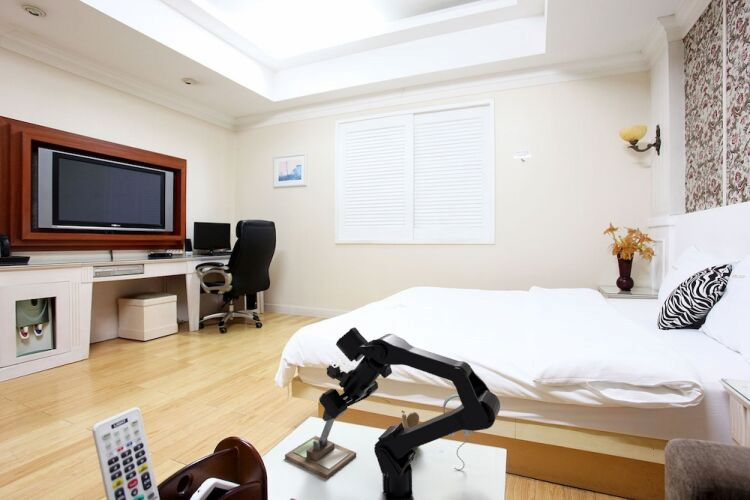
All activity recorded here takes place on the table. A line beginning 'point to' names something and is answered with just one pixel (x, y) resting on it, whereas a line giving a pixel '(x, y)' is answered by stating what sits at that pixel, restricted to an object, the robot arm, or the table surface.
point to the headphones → (465, 432)
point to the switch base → (315, 466)
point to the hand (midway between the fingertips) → (335, 412)
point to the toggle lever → (326, 432)
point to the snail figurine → (410, 420)
